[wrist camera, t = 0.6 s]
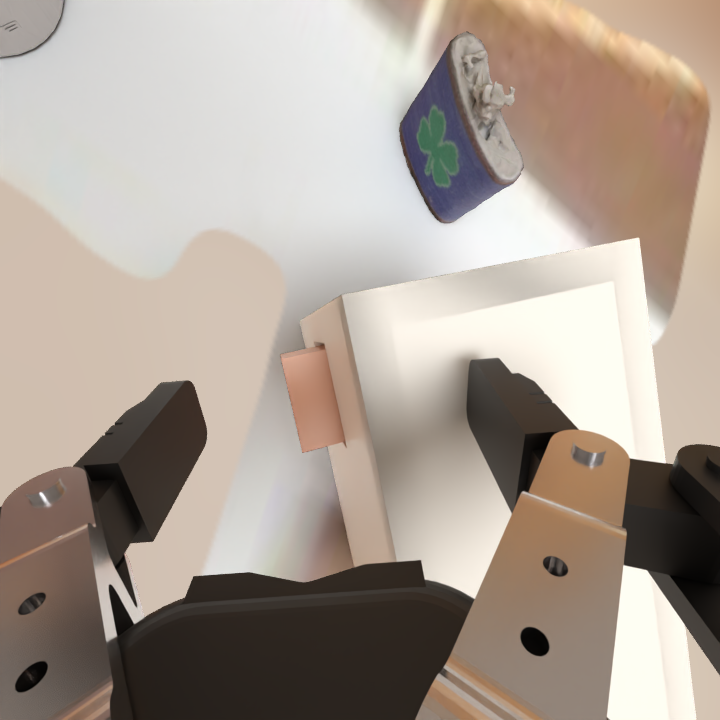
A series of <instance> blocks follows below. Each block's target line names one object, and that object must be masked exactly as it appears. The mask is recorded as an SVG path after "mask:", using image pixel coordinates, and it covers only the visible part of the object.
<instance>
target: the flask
mask: <svg viewBox="0 0 720 720" xmlns="http://www.w3.org/2000/svg"><path fill="white" fill-rule="evenodd" d="M514 92H515V89H514V88H513V87H510V94H508V95H504V93H503V85H501V84H497V81H496V82H495V84H494V86H493V85H492V81H491V79H490V75H489V66H488V54H487V51H486V50H485V47H484V44H483V43H482V41H481V40H480V39H477V38H476V37H475V35H473V34H471V33H469V32H464V33H462V34H460V35H458V36H456V37H455V38H454V39H453V40H451V41H450V43H449V45H448V46H447V48H446V50H445V52H444V53H443V55H442V57H441V58H440V60H439V62H438V63H437V65H436V67H435V68H434V70H433V71H432V73H431V75H430V76H429V78H428V80H427V82H426V83H425V85H424V87H423V88H422V90H421V91H420V92H419V94H418V95H417V97H416V98H415V100H414V101H413V103H412V104H411V106H410V108H409V110H408V112H407V114H406V115H405V117H404V118H403V121H402V122H401V123H400V128H399V132H400V141H401V144H402V147H403V152H404V156H405V157H406V162H407V165H408V168H409V169H410V171H411V175H412V176H413V177H414V179H415V182H416V185H417V187H418V189H419V191H420V193H421V195H422V196H423V198H424V200H425V202H426V204H427V206H428V208H429V210H430V211H431V213H432V214H433V215H434V216H435V218H436V219H437V220H439V221H440V222H443V223H451V222H454V221H456V220H457V219H458V218H460V217H461V216H463V215H464V214H465V213H467V212H469V211H470V210H472V209H474V208H476V207H477V206H478V205H479V204H481V203H482V202H483V201H485V200H487V199H489V198H490V197H492V196H493V195H494V194H496V193H498V192H499V191H501V190H502V189H504V188H506V187H508V186H510V185H511V184H513V183H514V182H515V181H516V180H517V179H518V177H519V176H520V175H521V171H522V170H523V168H524V165H523V160H522V157H521V154H520V152H519V150H518V148H517V147H516V145H515V142H514V140H513V138H512V137H511V135H510V133H509V130H508V128H507V126H506V123H505V122H504V119H503V116H502V113H501V111H500V109H501V108H502V107H503V106H504V104H506V105H508V106H511V105H512V104H513V103H514Z"/></svg>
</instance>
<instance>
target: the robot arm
mask: <svg viewBox="0 0 720 720" xmlns="http://www.w3.org/2000/svg"><path fill="white" fill-rule="evenodd" d="M63 2H64V0H0V57H6V56H12V55H18V54H21V53H24V52H26V51H29V50H32V49H34V48H35V47H37V46H38V45H39V44H41V43H42V42H44V41H45V40H46V39H47V38H48V37H49V36H50V34H51V33H52V32H53V31H54V30H55V28H56V26H57V23H58V21H59V19H60V17H61V13H62V7H63ZM466 411H467V419H468V423H469V427H470V429H471V431H472V433H473V435H474V437H475V439H476V441H477V443H478V445H479V447H480V450H481V452H482V454H483V456H484V458H485V460H486V462H487V464H488V466H489V468H490V470H491V472H492V474H493V476H494V478H495V480H496V482H497V484H498V486H499V489H500V491H501V493H502V495H503V497H504V499H505V501H506V503H507V505H508V507H509V509H510V511H511V513H512V515H511V517H510V519H509V522H508V524H507V526H506V529H505V531H504V533H503V536H502V538H501V540H500V542H499V545H498V547H497V549H496V552H495V554H494V556H493V558H492V561H491V563H490V565H489V568H488V570H487V572H486V574H485V577H484V579H483V581H482V584H481V586H480V588H479V591H478V593H477V595H476V597H475V599H474V598H472V597H471V596H469V595H467V594H465V593H464V592H462V591H460V590H457V589H455V588H453V587H451V586H448V585H445V584H442V583H439V582H436V581H431V580H426V579H425V578H424V573H423V568H422V563H421V560H415V561H401V562H387V563H373V564H364V565H360V566H357V567H354V568H351V569H348V570H345V571H342V572H339V573H336V574H333V575H329V576H326V577H323V578H320V579H317V580H314V581H310V582H296V581H291V580H286V579H281V578H276V577H270V576H265V575H260V574H255V573H250V572H248V573H234V574H220V575H206V576H194V577H193V579H192V581H191V584H190V587H189V589H188V592H187V594H186V597H185V598H183V599H180V600H178V601H175V602H173V603H171V604H168V605H166V606H164V607H162V608H161V609H158V610H157V611H155V612H153V613H151V614H149V615H148V616H146V617H144V614H143V609H142V605H141V602H140V598H139V594H138V591H137V587H136V583H135V579H134V576H133V572H132V568H131V564H130V561H129V559H128V557H127V555H126V553H125V551H126V550H127V548H128V547H129V544H130V543H140V542H153V541H154V539H155V537H156V535H157V533H158V532H159V530H160V528H161V526H162V524H163V522H164V520H165V518H166V517H167V515H168V513H169V511H170V510H171V508H172V506H173V504H174V502H175V500H176V498H177V497H178V495H179V493H180V491H181V489H182V487H183V485H184V484H185V482H186V480H187V478H188V476H189V475H190V473H191V471H192V469H193V467H194V465H195V464H196V462H197V460H198V458H199V456H200V454H201V453H202V451H203V449H204V447H205V444H206V440H207V428H206V424H205V420H204V417H203V414H202V410H201V407H200V404H199V401H198V397H197V394H196V390H195V387H194V385H193V384H192V382H190V381H176V382H163V383H160V384H159V385H158V386H157V387H156V388H155V389H154V390H153V391H152V392H151V394H150V395H149V396H148V397H147V398H146V399H145V400H144V401H142V402H140V403H139V404H137V405H136V406H134V407H132V408H131V409H129V410H128V411H126V412H125V413H124V414H123V415H122V416H121V417H120V418H119V419H118V420H117V421H116V422H115V425H113V426H111V427H110V428H109V430H108V431H107V432H106V433H105V436H102V437H101V438H100V439H99V440H98V441H97V442H96V443H95V444H94V445H93V446H92V447H91V448H90V449H89V450H88V451H87V452H86V453H85V454H84V456H82V457H81V458H80V460H79V461H78V462H77V463H76V464H75V465H74V466H73V467H63V468H58V469H55V470H51V471H49V472H46V473H43V474H41V475H39V476H37V477H35V478H33V479H31V480H29V481H27V482H26V483H24V484H23V485H21V486H20V487H18V488H17V489H16V490H14V491H13V492H12V493H11V494H10V495H9V496H8V497H7V499H6V500H5V501H4V503H3V505H2V507H0V720H610V719H609V718H608V717H607V711H608V701H609V692H610V683H611V674H612V665H613V656H614V647H615V638H616V628H617V619H618V610H619V601H620V592H621V583H622V574H623V565H624V566H629V567H634V568H639V569H643V570H647V571H648V573H649V574H650V575H651V577H652V578H653V580H654V581H655V583H656V584H657V586H658V587H659V588H660V590H661V591H662V593H663V594H664V596H665V597H666V599H667V600H668V601H669V603H670V604H671V606H672V607H673V609H674V610H675V611H676V613H677V614H678V616H679V617H680V619H681V620H682V622H683V623H684V624H685V626H686V627H687V629H688V630H689V632H690V633H691V634H692V636H693V637H694V639H695V640H696V642H697V643H698V645H699V646H700V647H701V649H702V650H703V652H704V653H705V655H706V656H707V658H708V659H709V660H710V662H711V663H712V665H713V666H714V668H715V669H716V671H717V672H718V673H719V675H720V447H717V446H711V445H701V444H696V445H688V446H685V447H683V448H681V449H680V450H679V451H678V453H677V456H676V459H675V461H674V464H667V463H659V462H652V461H644V460H637V459H631V458H629V455H628V454H627V452H626V451H625V450H624V449H623V448H622V447H621V446H620V445H619V444H618V443H616V442H615V441H613V440H611V439H609V438H607V437H605V436H603V435H600V434H597V433H594V432H590V431H585V430H579V429H578V428H577V427H576V426H575V425H574V424H573V423H572V421H571V420H570V419H569V418H568V417H567V416H566V415H565V414H564V413H563V412H562V411H561V410H560V408H559V407H558V406H557V405H556V404H555V403H552V400H551V399H550V398H549V396H548V395H547V394H544V391H543V390H542V389H541V388H540V387H539V386H538V385H537V383H536V382H535V381H533V380H531V379H529V378H527V377H525V376H524V375H522V374H520V373H511V372H510V370H509V369H508V368H507V367H506V366H505V364H504V363H503V362H502V361H501V360H500V359H499V358H487V359H473V360H471V361H470V364H469V371H468V388H467V405H466Z"/></svg>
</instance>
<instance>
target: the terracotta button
mask: <svg viewBox="0 0 720 720" xmlns="http://www.w3.org/2000/svg"><path fill="white" fill-rule="evenodd" d="M280 356H281V361H282V366H283V370H284V374H285V379H286V383H287V387H288V392H289V396H290V400H291V405H292V409H293V413H294V418H295V422H296V426H297V431H298V435H299V440H300V444H301V448H302V453H304V452H308V451H312V450H315V449H319V448H323V447H327V446H330V445H334V444H338V443H341V442H345V437H344V432H343V427H342V423H341V418H340V413H339V409H338V404H337V400H336V395H335V390H334V386H333V381H332V376H331V372H330V367H329V362H328V358H327V353H326V349H325V345H320V346H316V347H311V348H307V349H302V350H297V351H293V352H288V353H283V354H280Z"/></svg>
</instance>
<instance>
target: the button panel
mask: <svg viewBox="0 0 720 720" xmlns="http://www.w3.org/2000/svg"><path fill="white" fill-rule="evenodd" d="M300 325H301V330H302V334H303V339H304V343H305V348H306V349H307V348H311V347H316V346H320V345H325V349H326V353H327V358H328V362H329V367H330V372H331V376H332V381H333V386H334V390H335V395H336V400H337V404H338V409H339V413H340V418H341V423H342V427H343V432H344V437H345V442H341V443H338V444H334V445H330V446H327V447H328V452H329V456H330V461H331V465H332V470H333V474H334V479H335V483H336V488H337V492H338V497H339V501H340V506H341V510H342V515H343V519H344V524H345V528H346V533H347V537H348V542H349V546H350V551H351V555H352V560H353V564H354V567H357V566H360V565H364V564H373V563H387V562H401V561H415V560H421V563H422V568H423V573H424V578H425V579H426V580H431V581H436V582H439V583H442V584H445V585H448V586H451V587H453V588H455V589H457V590H460V591H462V592H464V593H465V594H467V595H469V596H471V597H472V598H474V599H475V597H476V595H477V593H478V591H479V588H480V586H481V584H482V581H483V579H484V577H485V574H486V572H487V570H488V568H489V565H490V563H491V561H492V558H493V556H494V554H495V552H496V549H497V547H498V545H499V542H500V540H501V538H502V536H503V533H504V531H505V529H506V526H507V524H508V522H509V519H510V517H511V515H512V513H511V511H510V509H509V507H508V505H507V503H506V501H505V499H504V497H503V495H502V493H501V491H500V489H499V486H498V484H497V482H496V480H495V478H494V476H493V474H492V472H491V470H490V468H489V466H488V464H487V462H486V460H485V458H484V456H483V454H482V452H481V450H480V447H479V445H478V443H477V441H476V439H475V437H474V435H473V433H472V431H471V429H470V427H469V423H468V419H467V411H466V405H467V388H468V371H469V364H470V361H471V360H473V359H487V358H499V359H500V360H501V361H502V362H503V363H504V364H505V366H506V367H507V368H508V369H509V370H510V372H511V373H520V374H522V375H524V376H525V377H527V378H529V379H531V380H533V381H535V382H536V383H537V385H538V386H539V387H540V388H541V389H542V390H543V391H544V394H547V395H548V396H549V398H550V399H551V400H552V403H555V404H556V405H557V406H558V407H559V408H560V410H561V411H562V412H563V413H564V414H565V415H566V416H567V417H568V418H569V419H570V420H571V421H572V423H573V424H574V425H575V426H576V427H577V428H578V429H579V430H585V431H590V432H594V433H597V434H600V435H603V436H605V437H607V438H609V439H611V440H613V441H615V442H616V443H618V444H619V445H620V446H621V447H622V448H623V449H624V450H625V451H626V452H627V454H628V455H629V458H631V459H637V460H644V461H652V462H659V463H666V462H665V453H664V444H663V435H662V427H661V419H660V411H659V402H658V394H657V385H656V377H655V368H654V360H653V351H652V343H651V334H650V326H649V318H648V309H647V301H646V292H645V284H644V276H643V267H642V259H641V250H640V242H639V238H634V239H629V240H624V241H619V242H614V243H608V244H603V245H598V246H593V247H587V248H582V249H577V250H572V251H567V252H561V253H556V254H551V255H546V256H540V257H535V258H530V259H525V260H520V261H514V262H509V263H504V264H499V265H494V266H488V267H483V268H478V269H473V270H467V271H462V272H457V273H452V274H447V275H441V276H436V277H431V278H426V279H420V280H415V281H410V282H405V283H400V284H394V285H389V286H384V287H379V288H373V289H368V290H363V291H358V292H353V293H347V294H342V295H340V296H339V297H337V298H335V299H334V300H332V301H331V302H329V303H327V304H326V305H324V306H323V307H321V308H319V309H318V310H316V311H315V312H313V313H311V314H310V315H308V316H307V317H305V318H303V319H302V320H300ZM607 717H608V718H609V719H610V720H696V714H695V705H694V697H693V688H692V681H691V671H690V663H689V654H688V646H687V638H686V629H685V624H684V623H683V622H682V620H681V619H680V617H679V616H678V614H677V613H676V611H675V610H674V609H673V607H672V606H671V604H670V603H669V601H668V600H667V599H666V597H665V596H664V594H663V593H662V591H661V590H660V588H659V587H658V586H657V584H656V583H655V581H654V580H653V578H652V577H651V575H650V574H649V573H648V571H647V570H643V569H639V568H634V567H629V566H624V565H623V574H622V583H621V592H620V601H619V610H618V619H617V628H616V638H615V647H614V656H613V665H612V674H611V683H610V692H609V701H608V711H607Z"/></svg>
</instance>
